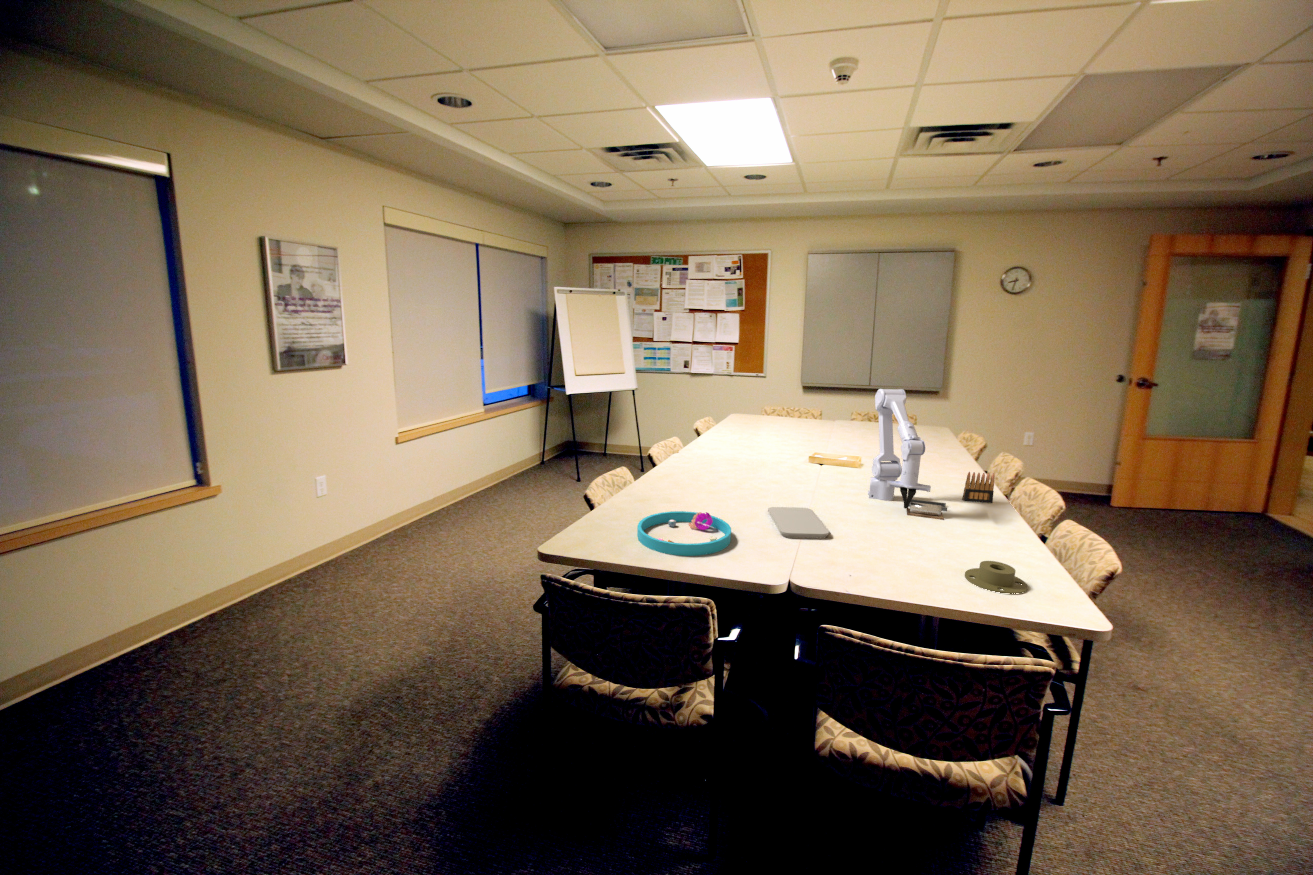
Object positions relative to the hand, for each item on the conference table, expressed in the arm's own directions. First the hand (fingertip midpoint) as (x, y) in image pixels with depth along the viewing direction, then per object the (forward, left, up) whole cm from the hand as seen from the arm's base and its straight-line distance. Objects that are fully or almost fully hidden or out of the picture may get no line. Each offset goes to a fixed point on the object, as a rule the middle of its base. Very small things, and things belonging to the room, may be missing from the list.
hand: (905, 507), depth 211 cm
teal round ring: (-67, -55, -3) cm, 87 cm away
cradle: (+7, +11, -3) cm, 14 cm away
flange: (+21, -50, -3) cm, 55 cm away
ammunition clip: (+27, +30, -3) cm, 41 cm away
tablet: (-36, -28, -3) cm, 45 cm away
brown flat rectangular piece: (+6, 0, -3) cm, 7 cm away
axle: (+6, 0, -2) cm, 7 cm away
